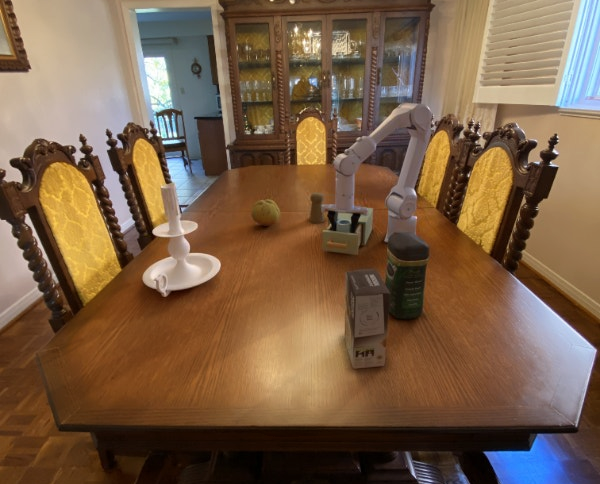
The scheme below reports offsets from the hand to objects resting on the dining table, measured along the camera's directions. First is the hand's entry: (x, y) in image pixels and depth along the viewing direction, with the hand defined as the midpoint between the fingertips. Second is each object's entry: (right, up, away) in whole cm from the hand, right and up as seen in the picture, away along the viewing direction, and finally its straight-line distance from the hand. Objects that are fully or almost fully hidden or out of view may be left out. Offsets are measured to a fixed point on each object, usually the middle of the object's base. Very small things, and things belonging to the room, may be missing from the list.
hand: (343, 234), depth 112 cm
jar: (0, -1, +1) cm, 1 cm away
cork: (-7, +5, +26) cm, 28 cm away
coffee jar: (+10, -17, -30) cm, 36 cm away
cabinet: (+4, -1, +11) cm, 12 cm away
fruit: (-27, +3, +22) cm, 35 cm away
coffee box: (-2, -22, -42) cm, 48 cm away
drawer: (0, -4, +1) cm, 4 cm away
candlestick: (-47, -13, -16) cm, 51 cm away
